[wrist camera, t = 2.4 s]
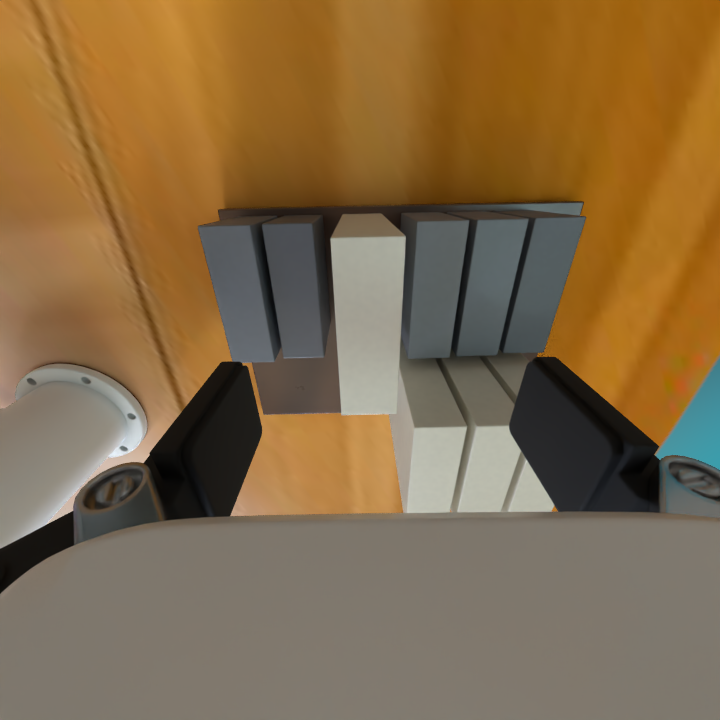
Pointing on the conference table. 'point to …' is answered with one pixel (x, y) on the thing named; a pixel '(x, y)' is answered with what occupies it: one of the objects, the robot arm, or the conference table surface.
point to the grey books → (420, 288)
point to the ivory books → (462, 436)
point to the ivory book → (368, 311)
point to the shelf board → (321, 374)
